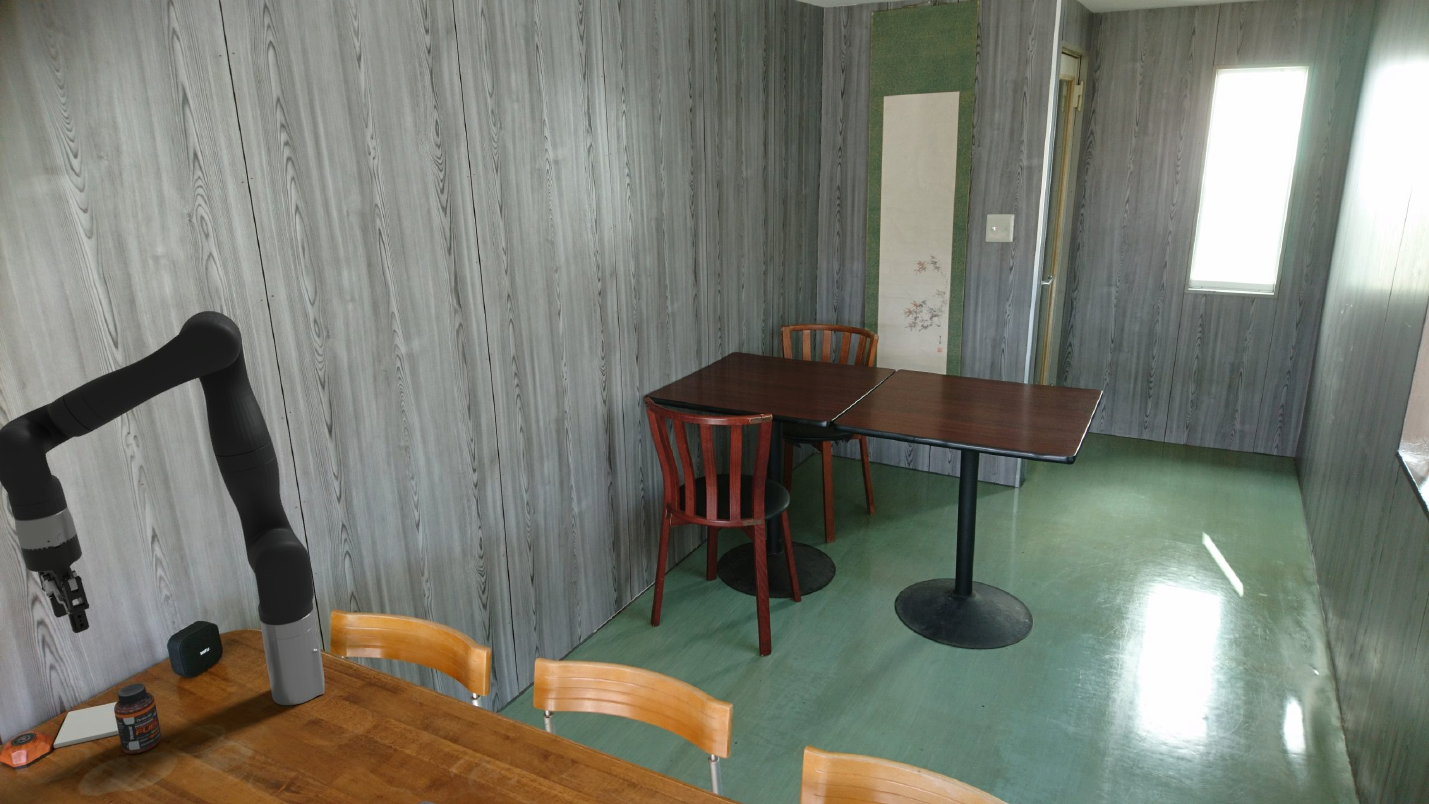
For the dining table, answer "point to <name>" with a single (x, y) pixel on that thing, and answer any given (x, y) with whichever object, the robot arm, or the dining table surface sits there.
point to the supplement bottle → (137, 719)
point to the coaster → (87, 725)
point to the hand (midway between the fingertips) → (72, 622)
